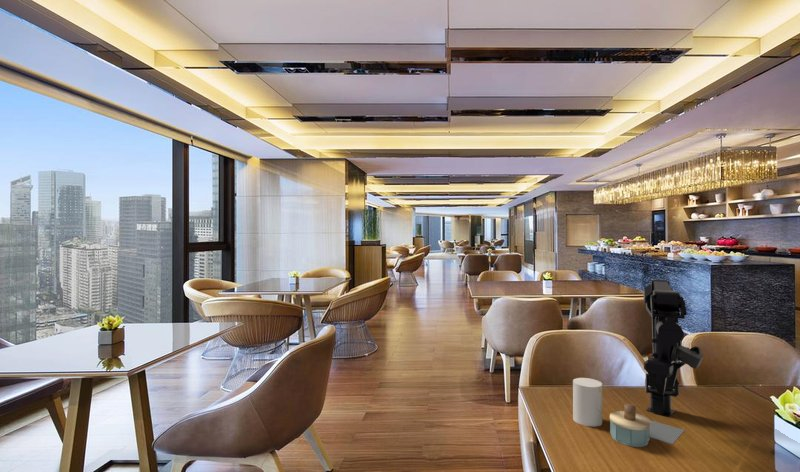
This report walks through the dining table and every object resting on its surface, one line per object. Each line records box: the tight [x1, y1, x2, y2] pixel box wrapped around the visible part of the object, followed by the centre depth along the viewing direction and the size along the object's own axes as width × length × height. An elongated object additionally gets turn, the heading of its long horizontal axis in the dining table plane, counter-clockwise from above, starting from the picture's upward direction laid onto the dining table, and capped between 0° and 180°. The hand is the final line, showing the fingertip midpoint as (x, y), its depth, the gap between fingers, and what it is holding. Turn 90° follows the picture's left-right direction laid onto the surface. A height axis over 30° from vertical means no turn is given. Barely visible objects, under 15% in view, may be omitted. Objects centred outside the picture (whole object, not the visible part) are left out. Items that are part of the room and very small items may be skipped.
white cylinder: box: [572, 377, 603, 427], centre depth 130 cm, size 8×8×12 cm
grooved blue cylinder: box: [609, 420, 651, 448], centre depth 119 cm, size 9×9×5 cm
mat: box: [649, 419, 686, 445], centre depth 124 cm, size 12×12×1 cm
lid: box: [609, 403, 652, 430], centre depth 118 cm, size 10×10×4 cm
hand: (666, 390), depth 122 cm, fingers open, 9 cm apart
